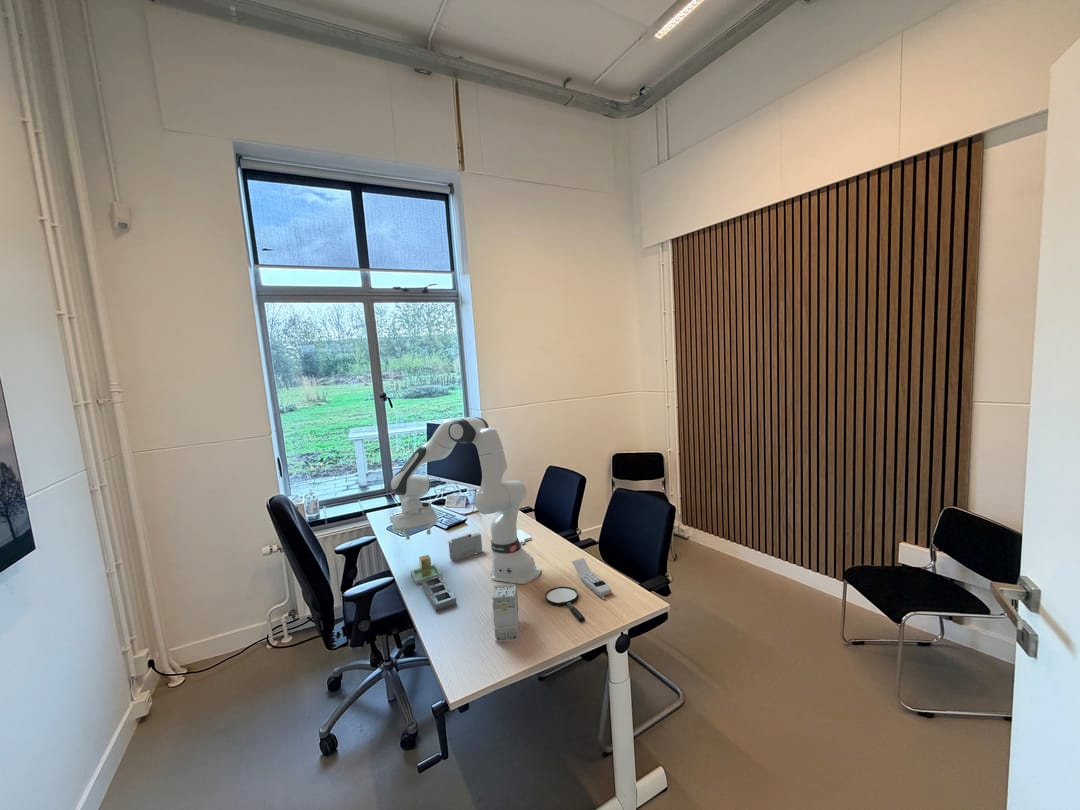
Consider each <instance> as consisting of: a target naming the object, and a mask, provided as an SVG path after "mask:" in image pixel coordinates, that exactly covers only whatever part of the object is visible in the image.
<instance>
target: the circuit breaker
mask: <svg viewBox="0 0 1080 810" xmlns="http://www.w3.org/2000/svg"><path fill="white" fill-rule="evenodd" d="M516 584H517V583H509V584H507V583H506V584H496V585H493V587H492V594H491V596H492V597H491V599H492V601H491V602H492V603H491V604H492V611H493V625H494V626H493V628H494V638H495V640H494V642H495V643H497V642H509V641H519V628H520V625H519V623H520V622H519V600H518V590H517V585H516Z"/></svg>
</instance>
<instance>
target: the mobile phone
mask: <svg viewBox="0 0 1080 810" xmlns="http://www.w3.org/2000/svg"><path fill="white" fill-rule="evenodd" d="M571 563H572V565H573V566H574V569H575V570H576V571H577V573H578V576H580V580H581V582H582V584H584V585H585V586H586V587H587V588H588V589H589V590H590V591H592V592H593V593H594V595H597V596H598V597H600V599H602V600H603V601H605V600H606V596H608V595H610V594H612V588H611V586H609V584H608V583H606V581H604V579H603V580H602V579H601V578H600V577H598V575H596V574H595V573H593V572H592V570H591V569H590V567H589V566H588V563H587V561H586V560H585V558H584V557H583V558H578V559H575V560H572V561H571Z"/></svg>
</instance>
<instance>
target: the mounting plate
mask: <svg viewBox="0 0 1080 810" xmlns="http://www.w3.org/2000/svg"><path fill="white" fill-rule="evenodd" d="M517 538H518V540H519V542H522V541H523V542H522V543H523V544H524V545H525V544H526V542H529V541H528V540H530V541H532V540H533V539H532V538H533V537H532V536H531V535H529V534H528V533H526V532H525V531H523V530H522V529H517ZM525 541H526V542H525ZM523 544H521V546H523Z"/></svg>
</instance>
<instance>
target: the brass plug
mask: <svg viewBox="0 0 1080 810" xmlns="http://www.w3.org/2000/svg"><path fill="white" fill-rule="evenodd" d="M418 558H419V560H418V561H419V568H420V572H421V576H422V578H423V577H427V576H430V575H432V570H431V565H432V562H431V560H432V559H431V557H430V555H429V554H426V555H421V556H418Z"/></svg>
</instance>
